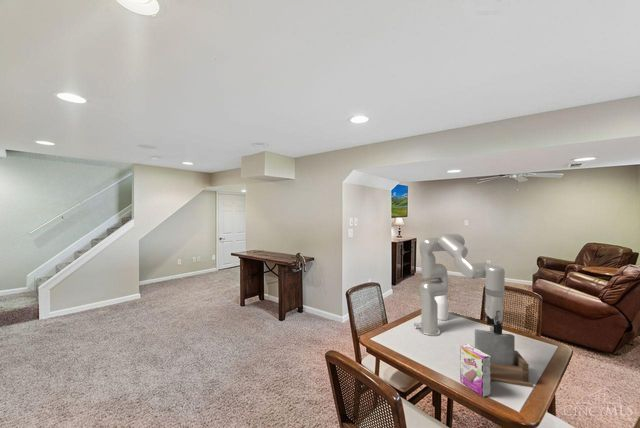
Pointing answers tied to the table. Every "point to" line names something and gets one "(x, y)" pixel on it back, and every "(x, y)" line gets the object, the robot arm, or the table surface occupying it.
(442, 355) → the table surface
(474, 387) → the candy bar box
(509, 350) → the hip flask
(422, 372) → the table surface
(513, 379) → the brown rectangular open tray
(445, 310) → the white tall cylinder
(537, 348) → the table surface
